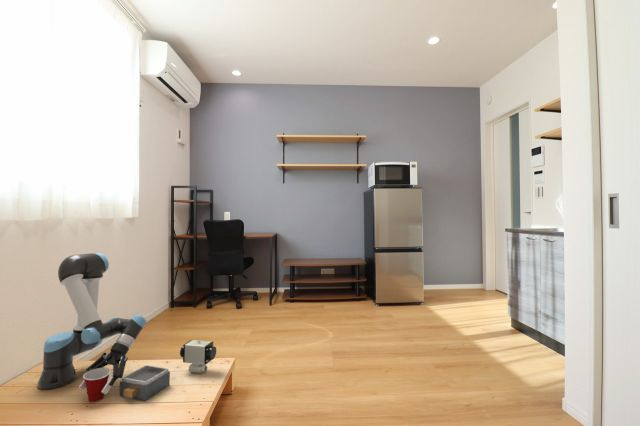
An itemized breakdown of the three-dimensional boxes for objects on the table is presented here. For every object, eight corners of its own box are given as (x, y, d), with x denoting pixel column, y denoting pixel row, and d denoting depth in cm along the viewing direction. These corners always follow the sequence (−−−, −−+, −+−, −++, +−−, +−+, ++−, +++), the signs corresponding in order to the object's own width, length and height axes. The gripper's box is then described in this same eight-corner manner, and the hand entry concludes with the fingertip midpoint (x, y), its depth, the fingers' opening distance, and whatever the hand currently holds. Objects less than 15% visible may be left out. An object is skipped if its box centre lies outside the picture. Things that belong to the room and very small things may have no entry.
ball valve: (217, 370, 173) (218, 337, 174) (209, 377, 165) (210, 343, 166) (188, 367, 176) (189, 335, 177) (178, 374, 168) (179, 341, 169)
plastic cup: (92, 407, 137) (93, 379, 137) (75, 402, 140) (77, 375, 141) (116, 395, 147) (116, 369, 147) (100, 391, 151) (100, 365, 151)
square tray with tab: (114, 399, 143) (115, 380, 144) (145, 381, 160) (146, 364, 160) (140, 404, 139) (141, 385, 140) (169, 385, 156) (170, 368, 156)
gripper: (146, 351, 156) (118, 398, 141) (108, 346, 163) (77, 389, 148) (137, 344, 151) (108, 391, 136) (98, 339, 158) (66, 383, 143)
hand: (92, 390), depth 142 cm, fingers open, 13 cm apart
